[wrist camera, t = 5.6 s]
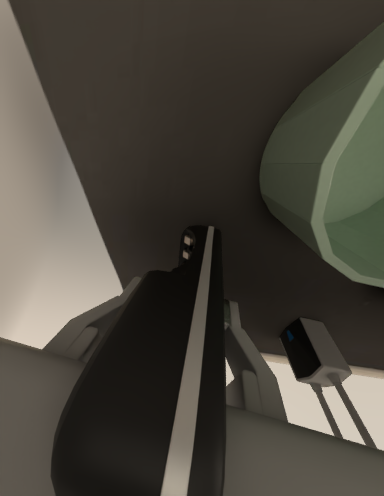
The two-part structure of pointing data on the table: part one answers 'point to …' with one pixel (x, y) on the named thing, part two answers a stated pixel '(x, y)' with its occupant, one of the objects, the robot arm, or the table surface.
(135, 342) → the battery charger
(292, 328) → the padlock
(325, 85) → the green round container
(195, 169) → the table surface
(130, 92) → the table surface
